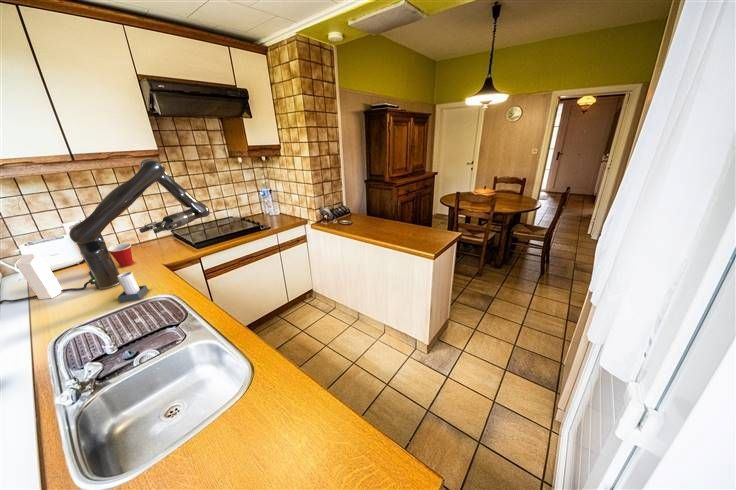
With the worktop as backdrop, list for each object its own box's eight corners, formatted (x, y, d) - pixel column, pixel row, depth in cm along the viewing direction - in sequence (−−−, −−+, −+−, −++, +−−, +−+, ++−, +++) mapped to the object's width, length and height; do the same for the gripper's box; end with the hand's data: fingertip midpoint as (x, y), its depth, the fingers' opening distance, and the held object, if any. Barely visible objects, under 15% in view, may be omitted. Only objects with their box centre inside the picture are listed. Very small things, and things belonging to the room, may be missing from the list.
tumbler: (124, 299, 121) (114, 278, 117) (131, 293, 126) (121, 272, 121) (137, 296, 122) (127, 276, 118) (143, 291, 127) (134, 270, 122)
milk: (52, 298, 127) (26, 257, 118) (38, 299, 127) (11, 258, 118) (64, 291, 133) (40, 251, 124) (51, 292, 132) (26, 252, 123)
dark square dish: (120, 302, 120) (117, 297, 119) (129, 293, 127) (127, 288, 126) (140, 299, 122) (137, 293, 120) (148, 290, 129) (146, 285, 127)
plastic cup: (125, 269, 152) (116, 250, 147) (110, 268, 154) (101, 249, 149) (143, 261, 161) (135, 243, 157) (129, 260, 164) (121, 242, 159)
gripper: (162, 213, 143) (132, 223, 128) (184, 214, 140) (156, 224, 125) (167, 226, 146) (138, 238, 131) (189, 227, 143) (161, 238, 128)
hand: (147, 231), depth 128 cm, fingers open, 8 cm apart
